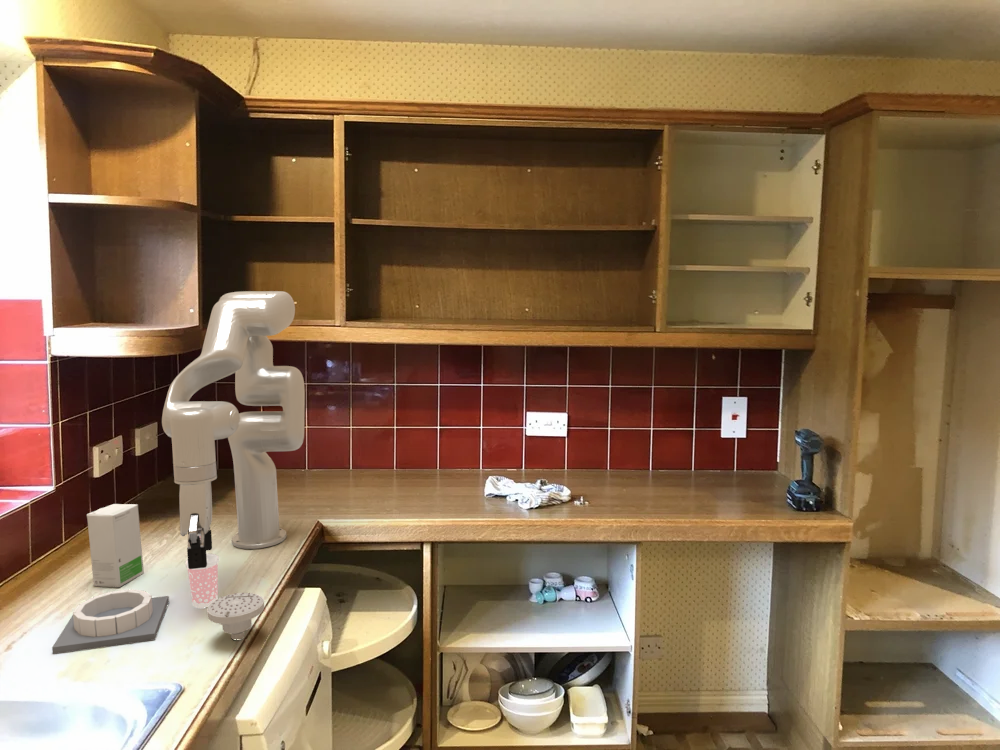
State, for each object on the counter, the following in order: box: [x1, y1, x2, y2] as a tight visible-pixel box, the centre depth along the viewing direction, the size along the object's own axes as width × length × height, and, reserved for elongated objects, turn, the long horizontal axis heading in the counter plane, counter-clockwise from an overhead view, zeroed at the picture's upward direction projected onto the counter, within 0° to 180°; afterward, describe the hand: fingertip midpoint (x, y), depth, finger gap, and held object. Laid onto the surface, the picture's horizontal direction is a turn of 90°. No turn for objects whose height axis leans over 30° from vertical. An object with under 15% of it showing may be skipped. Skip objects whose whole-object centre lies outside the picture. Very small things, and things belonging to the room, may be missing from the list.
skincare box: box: [86, 503, 145, 588], centre depth 153 cm, size 8×7×16 cm
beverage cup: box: [184, 536, 220, 609], centre depth 142 cm, size 6×6×14 cm
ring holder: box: [51, 588, 170, 655], centre depth 133 cm, size 16×16×4 cm
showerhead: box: [206, 592, 265, 640], centre depth 128 cm, size 9×7×10 cm
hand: (200, 558), depth 141 cm, fingers open, 9 cm apart
